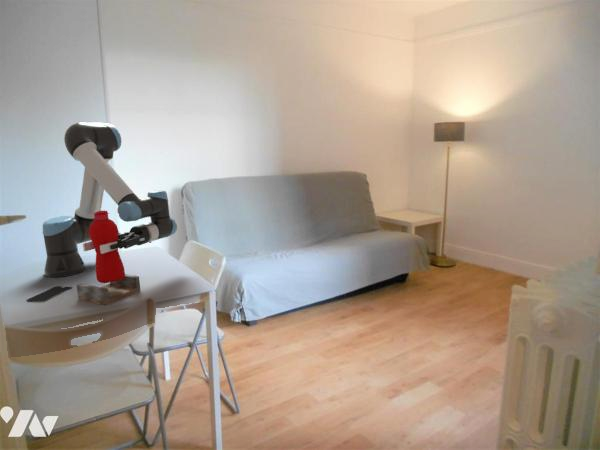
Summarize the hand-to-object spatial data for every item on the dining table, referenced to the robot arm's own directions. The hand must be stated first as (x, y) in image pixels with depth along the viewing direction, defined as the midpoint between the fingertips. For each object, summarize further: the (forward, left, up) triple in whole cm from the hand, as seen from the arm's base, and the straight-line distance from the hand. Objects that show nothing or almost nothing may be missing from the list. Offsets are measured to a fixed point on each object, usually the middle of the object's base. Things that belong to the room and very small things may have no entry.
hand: (92, 248), depth 140 cm
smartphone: (-22, -3, -19) cm, 30 cm away
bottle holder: (0, +5, -19) cm, 19 cm away
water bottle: (0, +5, -13) cm, 14 cm away
